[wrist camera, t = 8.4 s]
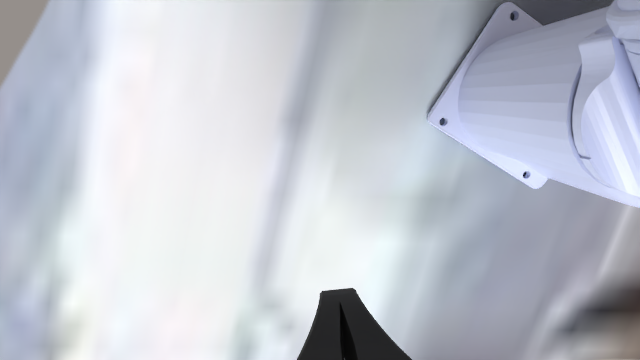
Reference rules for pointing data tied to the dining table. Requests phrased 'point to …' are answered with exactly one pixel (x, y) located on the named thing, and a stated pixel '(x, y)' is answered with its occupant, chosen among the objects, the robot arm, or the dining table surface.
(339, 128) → the dining table surface
